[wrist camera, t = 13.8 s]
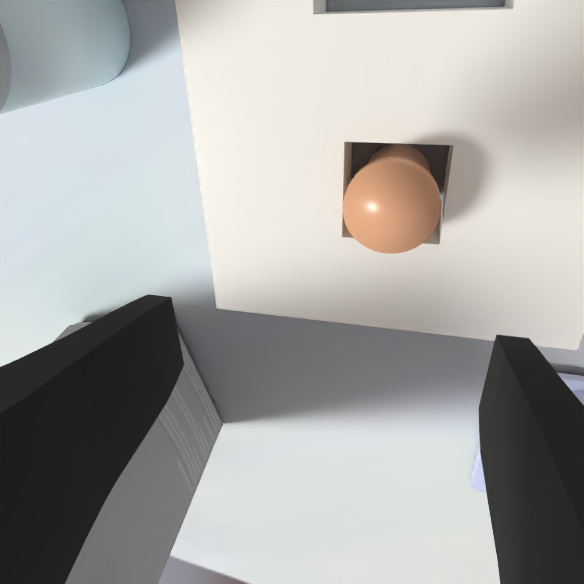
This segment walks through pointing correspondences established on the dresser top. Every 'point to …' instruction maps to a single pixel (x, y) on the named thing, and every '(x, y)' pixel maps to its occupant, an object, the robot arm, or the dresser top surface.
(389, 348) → the dresser top surface
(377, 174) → the tan round piece
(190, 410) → the skincare box
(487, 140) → the housing
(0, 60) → the cup
